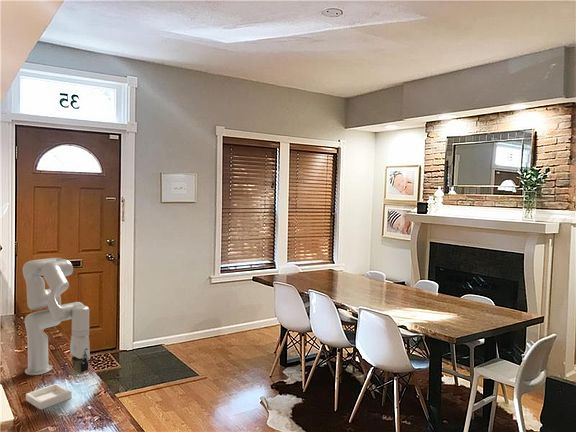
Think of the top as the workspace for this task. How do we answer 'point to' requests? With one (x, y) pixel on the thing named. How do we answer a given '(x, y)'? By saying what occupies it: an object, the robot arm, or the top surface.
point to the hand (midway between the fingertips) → (80, 368)
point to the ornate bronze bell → (77, 364)
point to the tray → (48, 396)
